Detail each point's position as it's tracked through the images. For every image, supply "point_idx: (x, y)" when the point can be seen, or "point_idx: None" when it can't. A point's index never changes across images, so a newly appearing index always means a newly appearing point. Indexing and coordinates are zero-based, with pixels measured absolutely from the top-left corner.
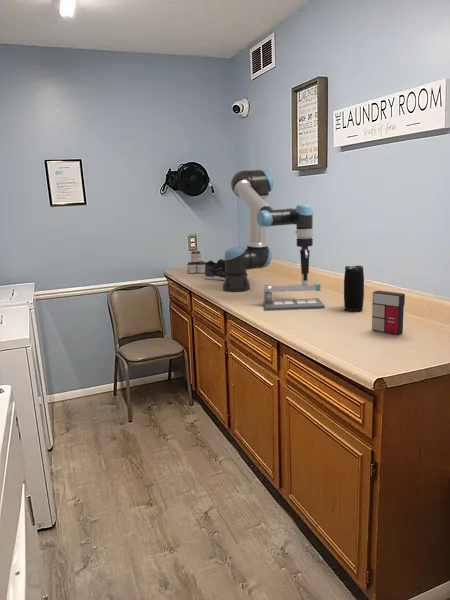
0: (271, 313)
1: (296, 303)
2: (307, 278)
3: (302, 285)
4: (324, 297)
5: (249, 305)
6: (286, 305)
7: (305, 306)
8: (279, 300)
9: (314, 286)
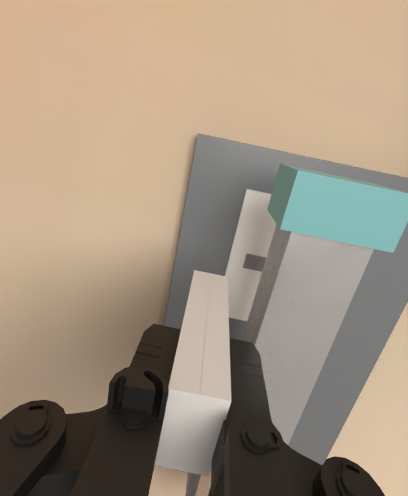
0: (376, 463)
1: None
2: (227, 342)
3: (298, 376)
4: (98, 33)
5: (179, 490)
6: (313, 394)
7: (400, 314)
8: None
9: (360, 259)
